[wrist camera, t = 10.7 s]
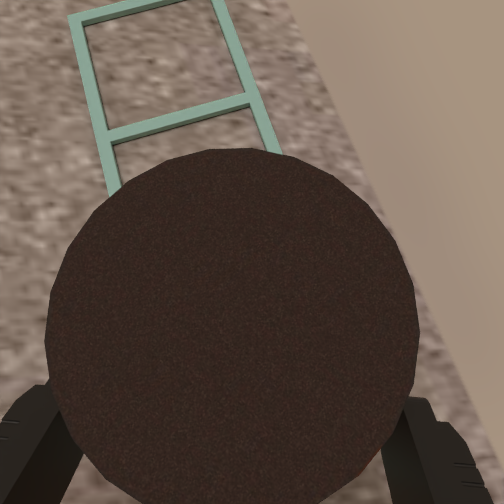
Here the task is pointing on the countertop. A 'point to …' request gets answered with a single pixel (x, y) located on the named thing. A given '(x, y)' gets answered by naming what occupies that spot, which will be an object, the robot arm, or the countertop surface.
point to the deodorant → (232, 332)
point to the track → (107, 138)
